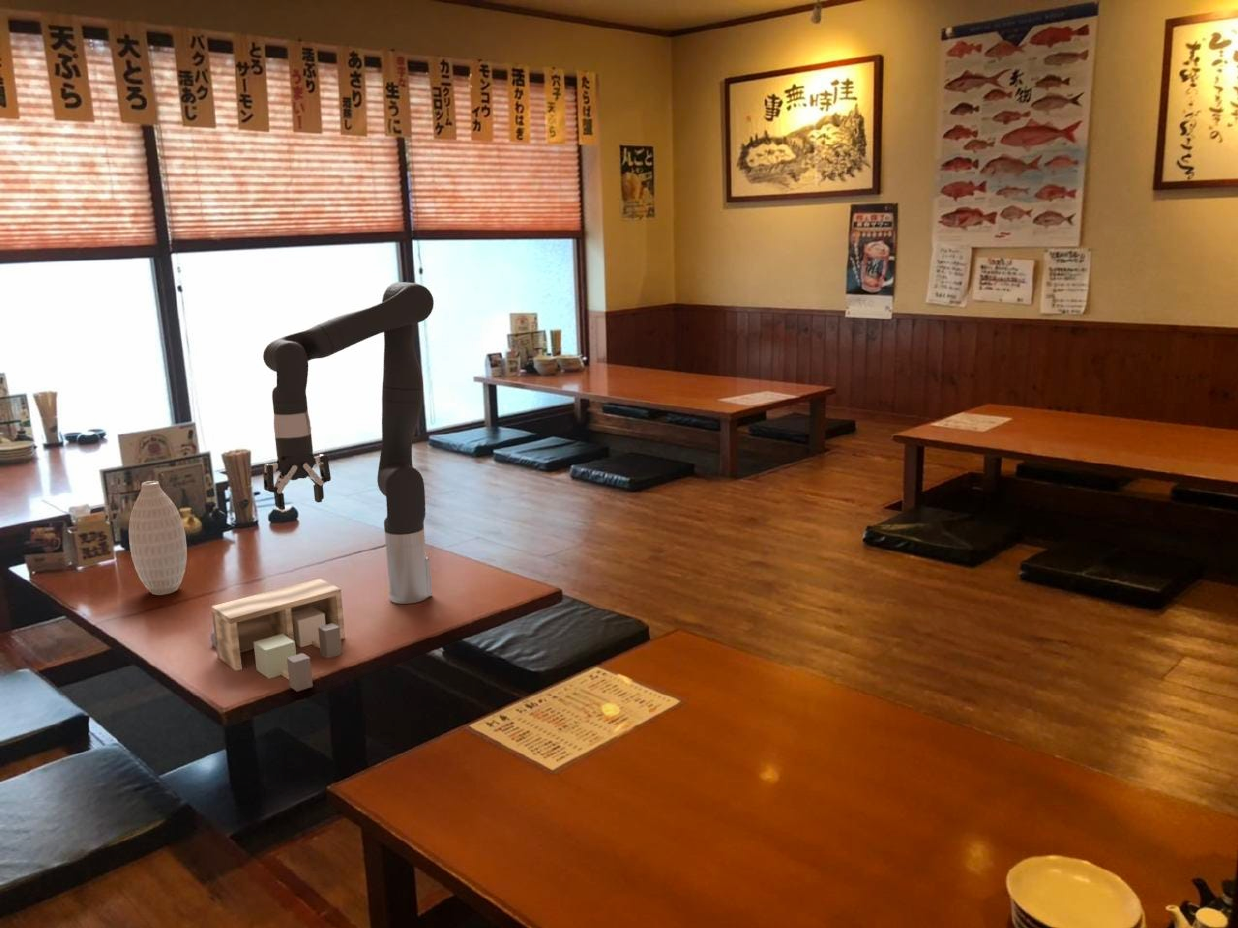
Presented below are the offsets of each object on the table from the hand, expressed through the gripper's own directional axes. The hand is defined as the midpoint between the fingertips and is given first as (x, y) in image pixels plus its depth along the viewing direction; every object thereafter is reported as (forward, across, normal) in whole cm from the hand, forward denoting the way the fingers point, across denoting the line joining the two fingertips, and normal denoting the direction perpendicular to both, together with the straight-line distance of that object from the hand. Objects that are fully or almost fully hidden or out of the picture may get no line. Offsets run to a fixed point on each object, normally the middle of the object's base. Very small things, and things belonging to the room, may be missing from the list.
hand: (300, 505), depth 216 cm
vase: (+28, +16, -50) cm, 60 cm away
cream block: (+28, +4, +12) cm, 31 cm away
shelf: (+28, +10, +7) cm, 31 cm away
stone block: (+29, +14, -5) cm, 32 cm away
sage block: (+28, +16, +23) cm, 39 cm away
